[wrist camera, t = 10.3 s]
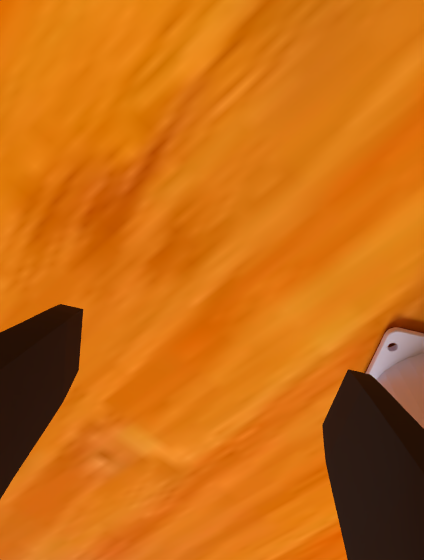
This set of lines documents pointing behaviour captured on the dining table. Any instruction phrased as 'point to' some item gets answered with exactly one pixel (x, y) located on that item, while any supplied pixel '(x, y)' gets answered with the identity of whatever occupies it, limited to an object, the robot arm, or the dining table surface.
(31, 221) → the dining table surface
